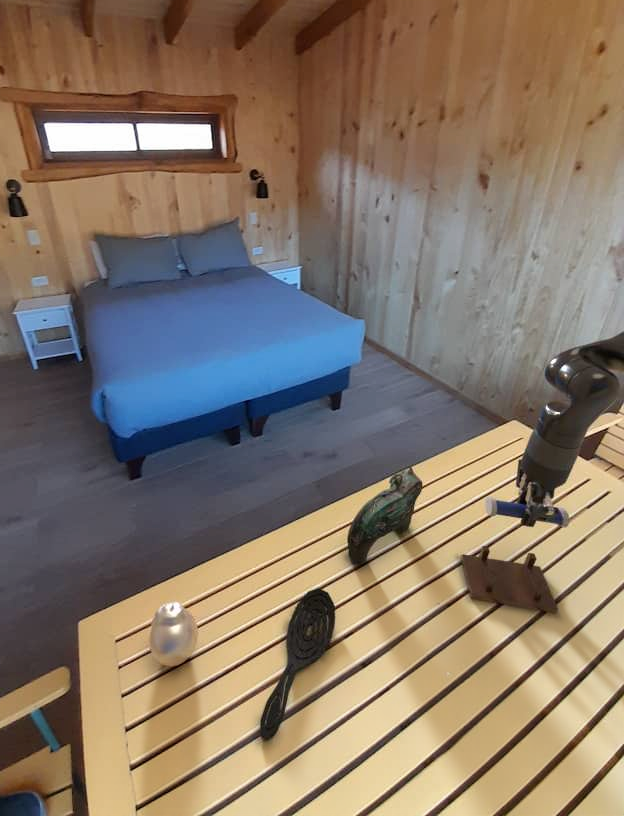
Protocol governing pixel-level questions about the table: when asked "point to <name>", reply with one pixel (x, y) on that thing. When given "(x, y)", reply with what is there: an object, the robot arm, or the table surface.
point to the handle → (521, 511)
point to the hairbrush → (300, 651)
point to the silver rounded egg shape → (173, 634)
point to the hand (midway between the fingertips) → (523, 517)
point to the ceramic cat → (384, 514)
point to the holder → (507, 582)
